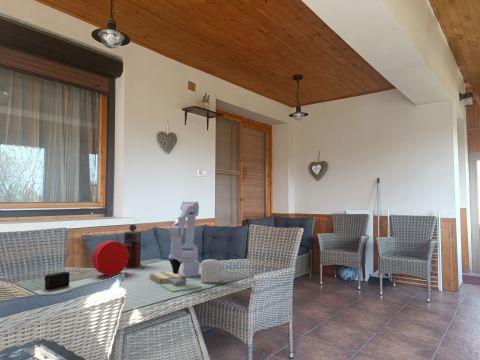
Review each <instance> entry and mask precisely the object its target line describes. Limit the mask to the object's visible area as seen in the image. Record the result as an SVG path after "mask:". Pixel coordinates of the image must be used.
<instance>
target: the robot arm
mask: <svg viewBox="0 0 480 360" xmlns="http://www.w3.org/2000/svg"><path fill="white" fill-rule="evenodd" d="M199 206H200V205H199V202H198V201H181V203H180V211H181V212H180V214H179V216H177V217H176V219H175V221H174V223H173V225H171V226H170V227H169V229H168V233H169V234H168V235H169V240H170V254H168V259H171V260H169V263H170V265H171V269H172V271H173V274H178V273H179V271H180V267H181V265H182V273H181V274H183V275H185V276H186V278H190V277H191V278H192V277H198V276H200V263H199V260H198V257H199V252H198V250H199V249H198V246H197V245H196V244H194V239H195V226H196V217H197V216H199V212H200V211H199V210H200V207H199ZM185 225H186V230H185V228H184V227H185ZM184 230H185V231H186V232H185V243H184V244H182V238H183V235H184Z"/></svg>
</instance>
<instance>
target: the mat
mask: <svg viewBox="0 0 480 360" xmlns="http://www.w3.org/2000/svg"><path fill="white" fill-rule="evenodd" d="M159 286H160V287H162V288H164V290H165V289H166V290H168V291H169V292H171V293H176V292H181V291H188V290H190V291H191V290H195V289H201V288H202V286H201V285H198V284H196V283H194V282H192V281H190V280H187V279H186V285H181V286H173V285H171V284H169V283H165V284H160V285H159Z"/></svg>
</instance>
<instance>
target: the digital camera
mask: <svg viewBox="0 0 480 360" xmlns="http://www.w3.org/2000/svg"><path fill="white" fill-rule="evenodd" d="M65 287H70V272H68V271H61V272H55V273H49V274H46V275H45V276H44V289H45V290H48V291H51V290H57V289H60V288H65Z"/></svg>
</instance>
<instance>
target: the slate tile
mask: <svg viewBox="0 0 480 360" xmlns="http://www.w3.org/2000/svg"><path fill="white" fill-rule="evenodd" d="M186 281H187V280H186ZM186 281H185V280H183V279H180V278H173V279H168V283H169V284H171V285H173V286H181V285H186Z"/></svg>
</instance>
